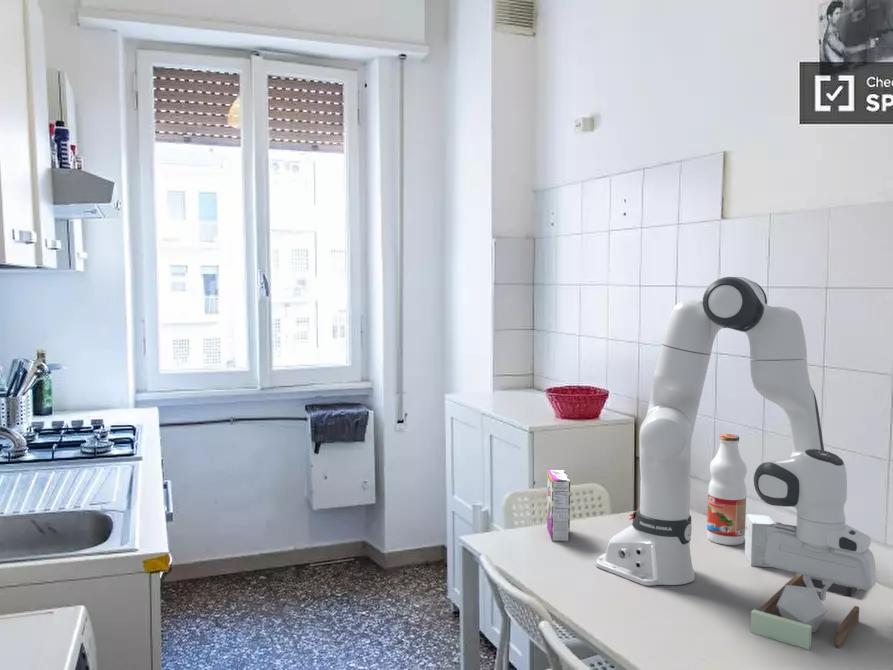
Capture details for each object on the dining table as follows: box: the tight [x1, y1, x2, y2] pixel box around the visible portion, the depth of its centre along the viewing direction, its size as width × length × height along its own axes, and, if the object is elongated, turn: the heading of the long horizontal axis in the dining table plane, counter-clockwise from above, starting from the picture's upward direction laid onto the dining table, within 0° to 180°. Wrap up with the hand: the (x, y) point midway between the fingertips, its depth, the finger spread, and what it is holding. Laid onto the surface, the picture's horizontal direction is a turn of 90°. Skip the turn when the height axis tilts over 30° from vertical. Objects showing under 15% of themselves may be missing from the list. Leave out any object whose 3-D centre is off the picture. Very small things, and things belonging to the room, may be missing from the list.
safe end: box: [749, 609, 813, 650], centre depth 141 cm, size 10×2×4 cm, turn 49°
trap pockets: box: [804, 577, 859, 598], centre depth 169 cm, size 10×12×2 cm
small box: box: [744, 513, 775, 568], centre depth 182 cm, size 8×6×10 cm
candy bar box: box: [546, 469, 571, 542], centre depth 199 cm, size 11×5×16 cm, turn 179°
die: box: [776, 585, 827, 633], centre depth 146 cm, size 8×9×10 cm
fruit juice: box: [706, 433, 747, 546], centre depth 197 cm, size 9×9×28 cm
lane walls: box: [757, 573, 860, 649], centre depth 152 cm, size 15×32×3 cm, turn 139°
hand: (816, 598), depth 152 cm, fingers closed
